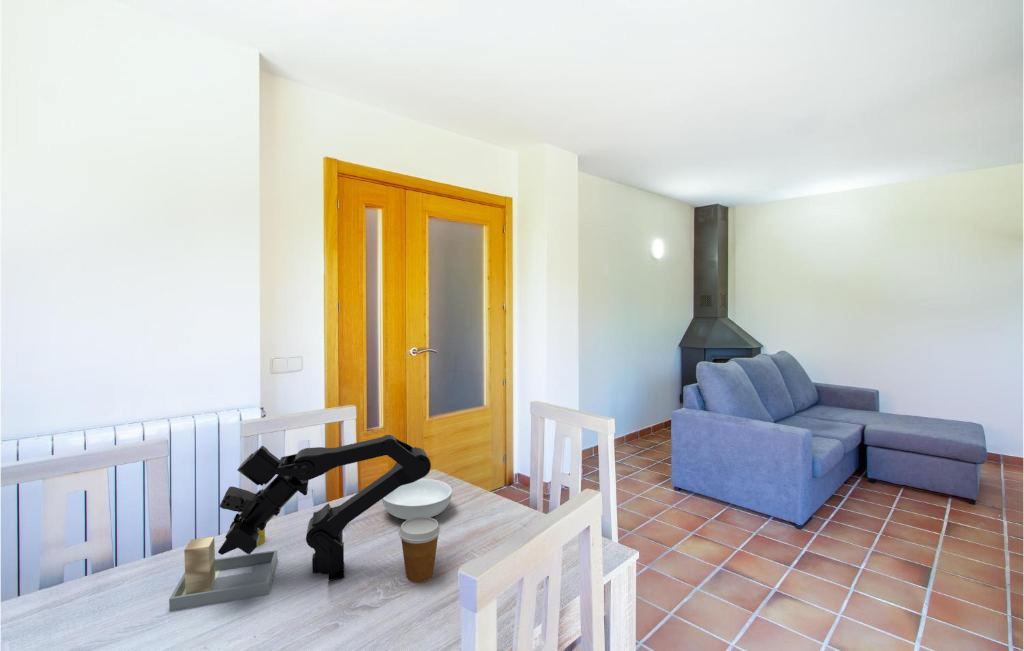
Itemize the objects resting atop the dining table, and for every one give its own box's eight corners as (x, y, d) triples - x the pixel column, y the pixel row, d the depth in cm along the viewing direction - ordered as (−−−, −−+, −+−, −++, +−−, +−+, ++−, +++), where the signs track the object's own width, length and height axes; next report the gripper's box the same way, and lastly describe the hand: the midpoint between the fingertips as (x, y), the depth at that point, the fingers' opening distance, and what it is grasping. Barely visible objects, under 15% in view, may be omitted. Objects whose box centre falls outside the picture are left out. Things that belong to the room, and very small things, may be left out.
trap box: (277, 566, 116) (277, 550, 116) (268, 601, 103) (268, 582, 103) (190, 579, 111) (190, 562, 110) (169, 618, 97) (169, 599, 97)
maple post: (215, 580, 108) (214, 536, 107) (210, 591, 104) (208, 546, 103) (192, 583, 106) (190, 539, 106) (185, 595, 102) (184, 550, 102)
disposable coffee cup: (390, 581, 111) (390, 530, 110) (412, 560, 120) (412, 513, 119) (427, 590, 108) (427, 538, 107) (447, 568, 117) (447, 519, 116)
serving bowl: (446, 530, 136) (446, 506, 135) (372, 528, 136) (372, 505, 135) (456, 499, 156) (456, 478, 156) (391, 498, 157) (391, 477, 156)
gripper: (252, 461, 115) (201, 513, 112) (236, 491, 98) (174, 553, 95) (289, 489, 118) (240, 540, 116) (279, 523, 101) (221, 584, 98)
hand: (220, 552), depth 106 cm, fingers closed
